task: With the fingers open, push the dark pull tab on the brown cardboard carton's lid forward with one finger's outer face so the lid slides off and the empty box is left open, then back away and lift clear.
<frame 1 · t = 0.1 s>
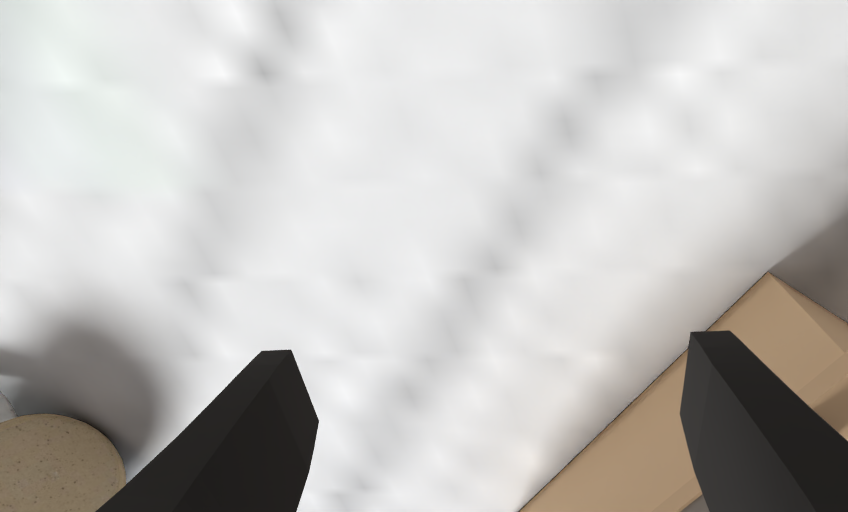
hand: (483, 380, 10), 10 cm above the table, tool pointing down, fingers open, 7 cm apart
carton: (734, 483, 24), on the table
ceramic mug: (50, 446, 29), on the table
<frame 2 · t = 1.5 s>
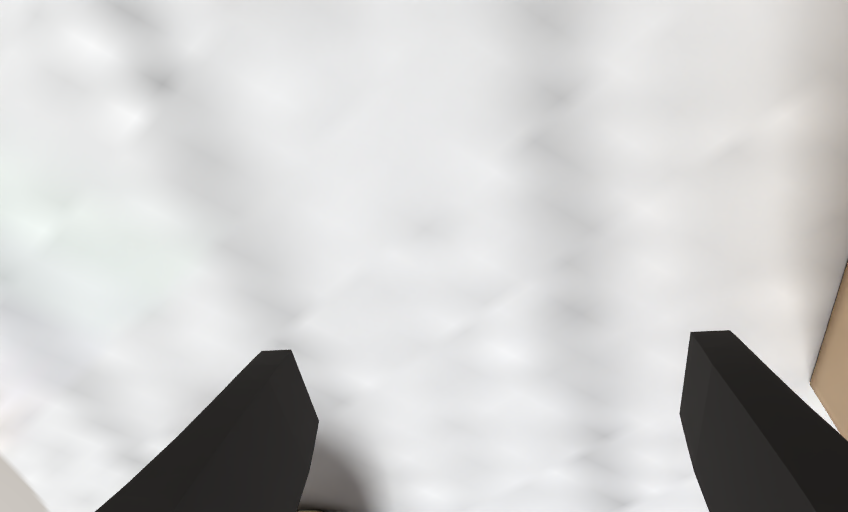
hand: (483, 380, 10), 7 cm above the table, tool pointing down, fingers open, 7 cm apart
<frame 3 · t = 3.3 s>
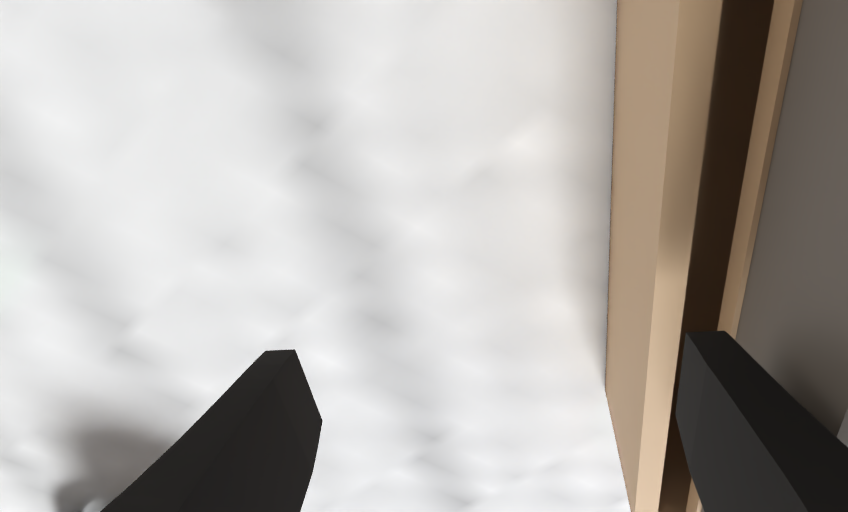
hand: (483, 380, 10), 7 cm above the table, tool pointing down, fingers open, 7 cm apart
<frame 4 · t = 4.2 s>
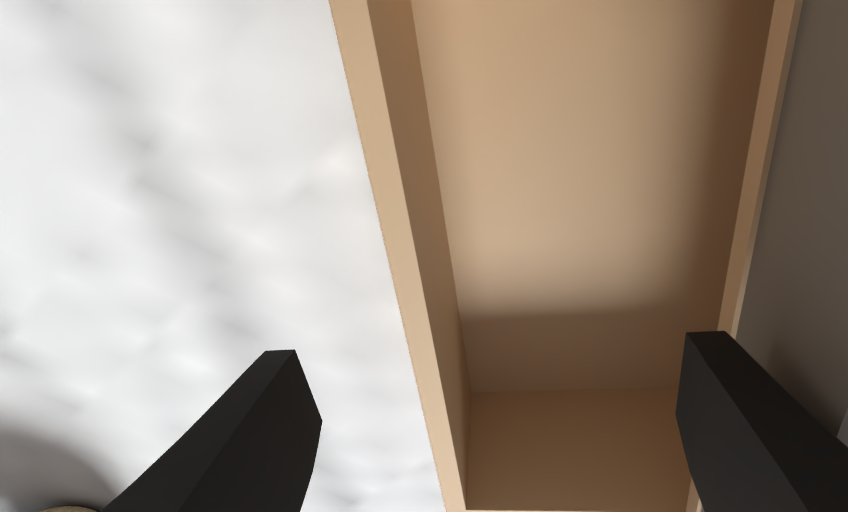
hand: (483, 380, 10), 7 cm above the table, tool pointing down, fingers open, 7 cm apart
carton: (638, 187, 15), on the table
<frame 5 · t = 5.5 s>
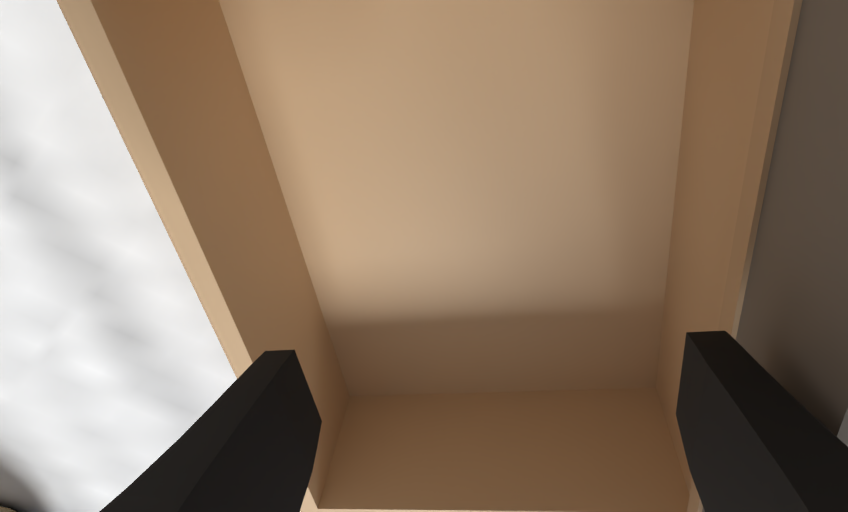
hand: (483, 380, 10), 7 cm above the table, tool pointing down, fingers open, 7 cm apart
carton: (473, 202, 16), on the table
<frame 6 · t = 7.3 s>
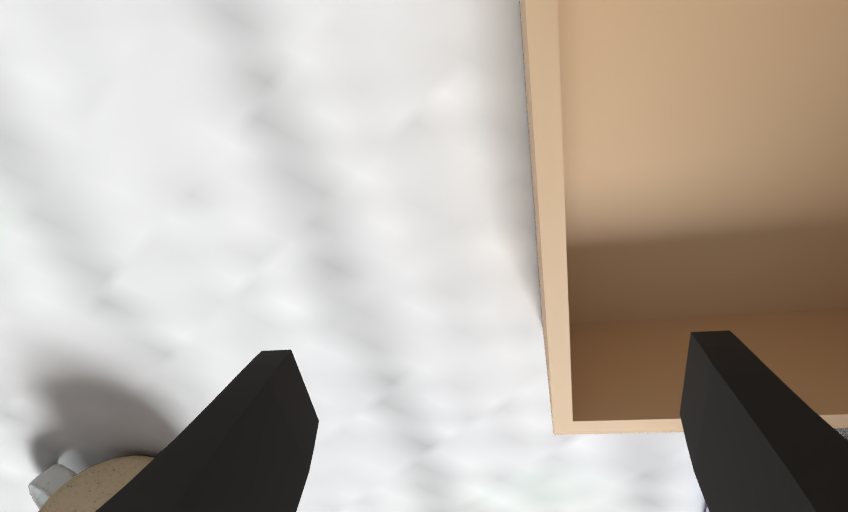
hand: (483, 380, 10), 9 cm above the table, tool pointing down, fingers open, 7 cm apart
carton: (737, 110, 16), on the table
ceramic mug: (145, 488, 32), on the table
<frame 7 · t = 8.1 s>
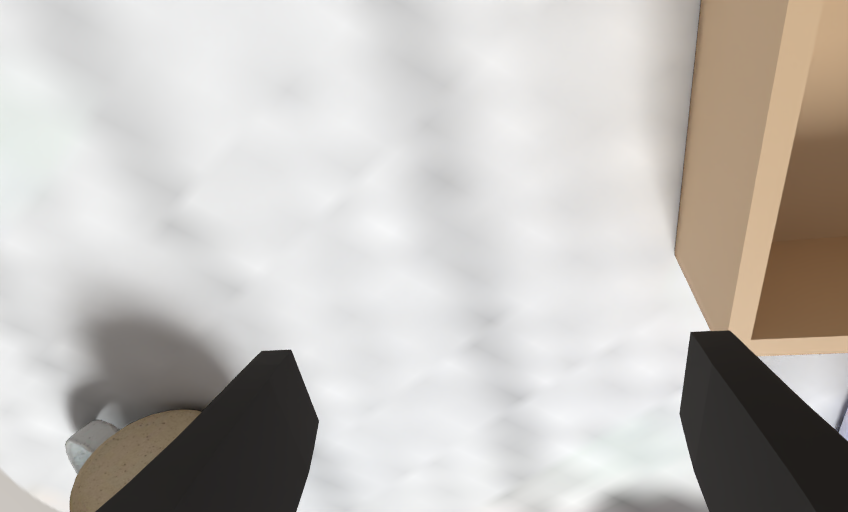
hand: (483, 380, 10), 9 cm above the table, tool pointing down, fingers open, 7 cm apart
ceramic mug: (189, 449, 29), on the table
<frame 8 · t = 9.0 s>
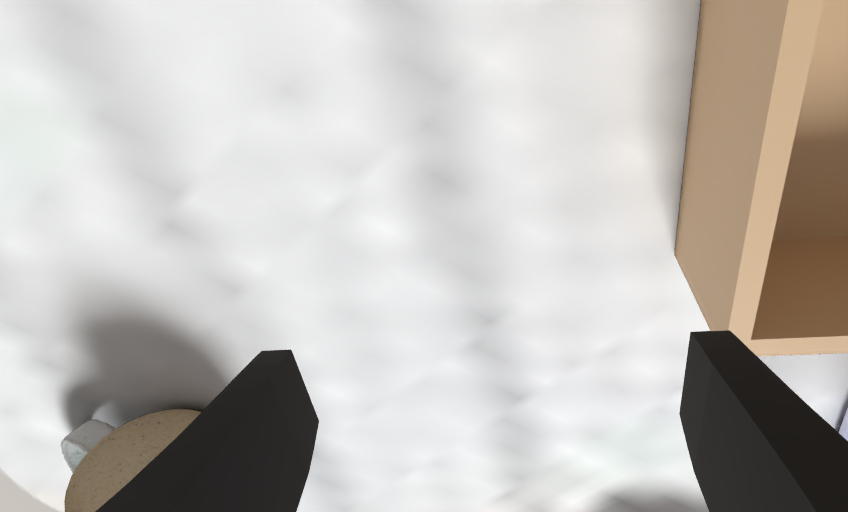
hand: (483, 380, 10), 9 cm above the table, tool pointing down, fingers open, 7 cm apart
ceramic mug: (185, 448, 29), on the table
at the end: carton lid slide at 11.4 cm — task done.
